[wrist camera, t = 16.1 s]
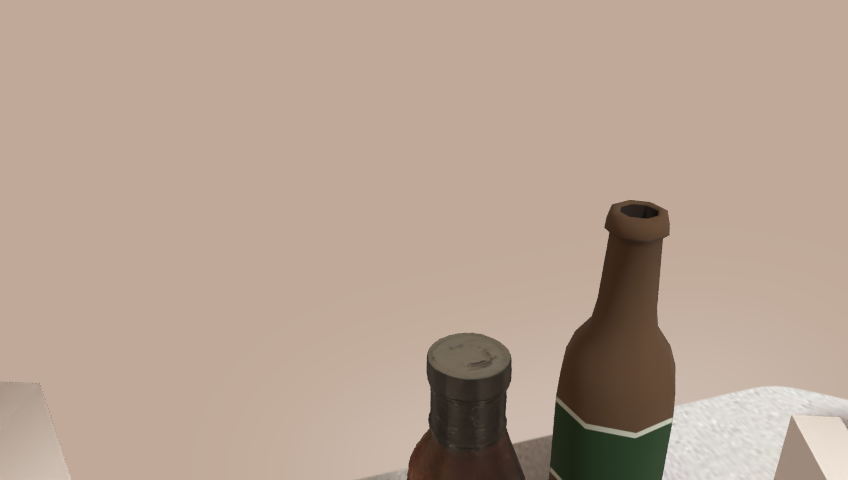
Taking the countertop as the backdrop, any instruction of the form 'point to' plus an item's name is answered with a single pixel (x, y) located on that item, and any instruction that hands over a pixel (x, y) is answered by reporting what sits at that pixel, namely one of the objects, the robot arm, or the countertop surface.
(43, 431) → the robot arm
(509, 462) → the sauce bottle
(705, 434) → the countertop surface
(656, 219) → the beer bottle
